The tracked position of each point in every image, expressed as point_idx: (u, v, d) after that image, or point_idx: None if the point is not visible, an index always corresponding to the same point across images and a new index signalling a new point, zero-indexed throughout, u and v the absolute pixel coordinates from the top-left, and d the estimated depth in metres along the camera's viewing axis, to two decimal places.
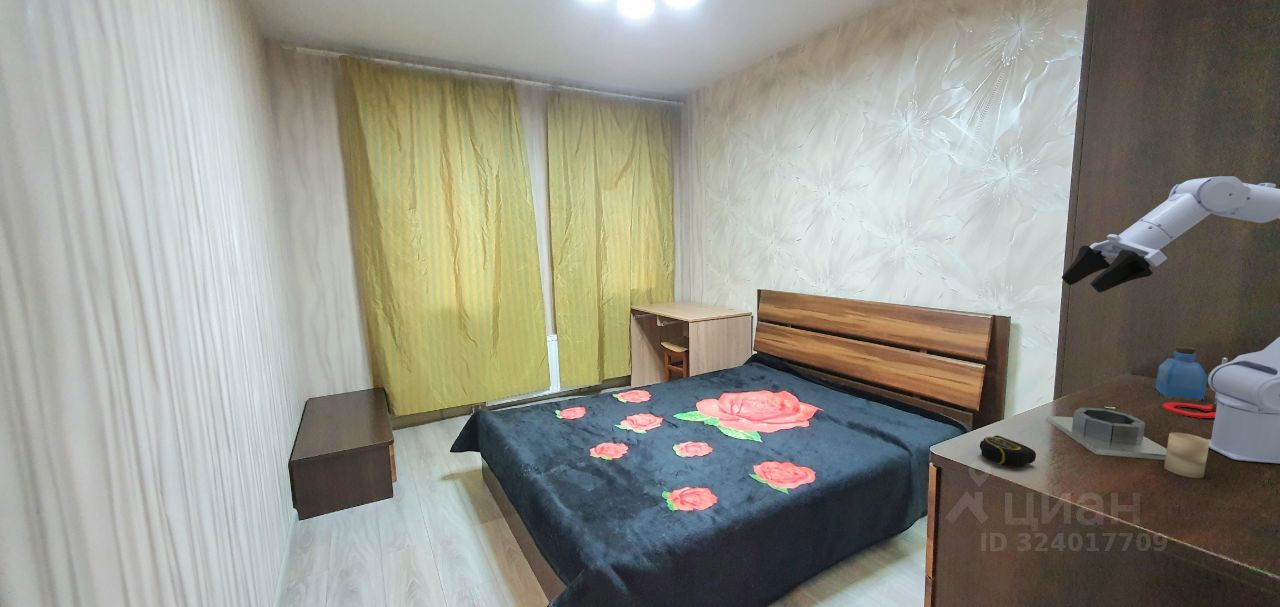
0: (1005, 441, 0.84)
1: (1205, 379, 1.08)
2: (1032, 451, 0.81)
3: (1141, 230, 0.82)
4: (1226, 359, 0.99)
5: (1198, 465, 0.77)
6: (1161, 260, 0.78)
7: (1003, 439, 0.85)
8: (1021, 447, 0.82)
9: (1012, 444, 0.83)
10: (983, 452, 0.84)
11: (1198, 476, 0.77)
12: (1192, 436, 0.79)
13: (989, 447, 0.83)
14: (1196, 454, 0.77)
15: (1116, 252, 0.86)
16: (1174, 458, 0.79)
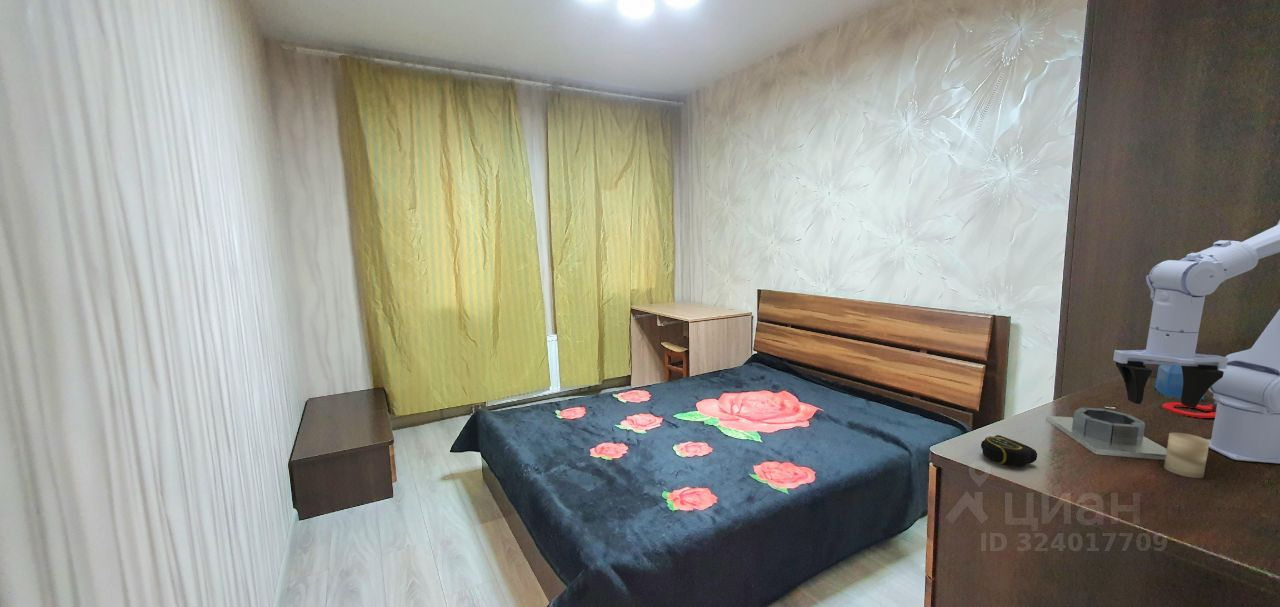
0: (1006, 441, 0.84)
1: None
2: (1033, 451, 0.81)
3: (1195, 342, 0.79)
4: None
5: (1198, 465, 0.77)
6: None
7: (1004, 439, 0.85)
8: (1022, 447, 0.82)
9: (1013, 444, 0.83)
10: (984, 452, 0.84)
11: (1198, 476, 0.77)
12: (1192, 436, 0.79)
13: (991, 446, 0.83)
14: (1196, 454, 0.77)
15: None
16: (1174, 458, 0.79)
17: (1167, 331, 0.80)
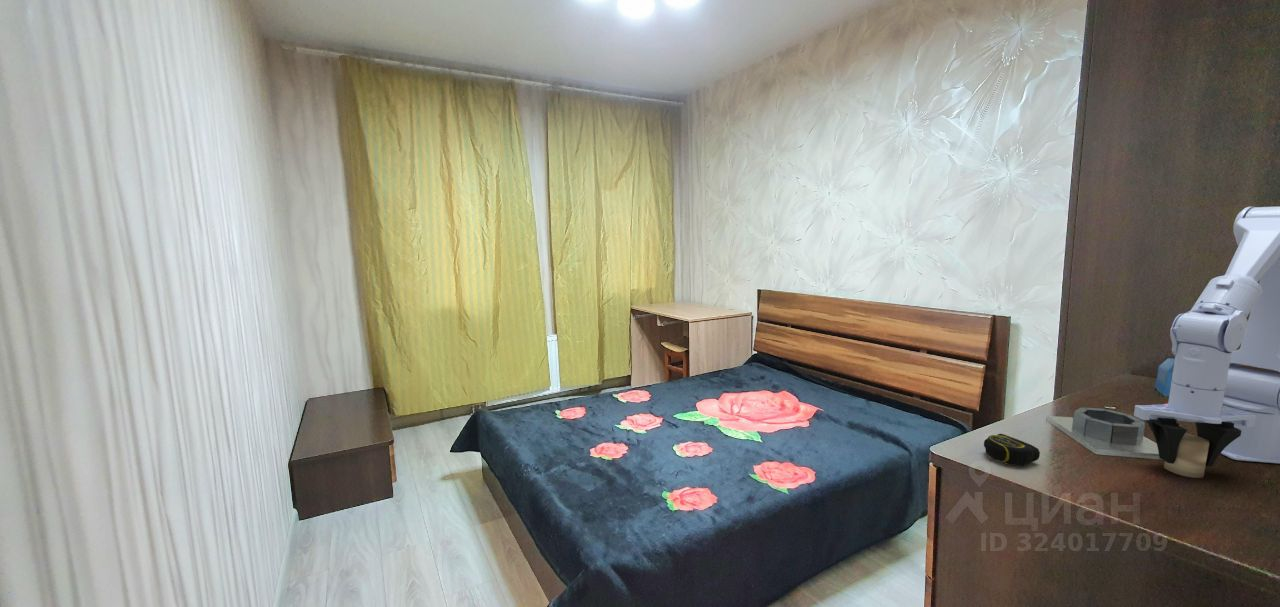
0: (1009, 439, 0.85)
1: None
2: (1036, 449, 0.82)
3: (1222, 400, 0.75)
4: None
5: (1198, 465, 0.77)
6: None
7: (1007, 437, 0.86)
8: (1025, 445, 0.82)
9: (1016, 442, 0.84)
10: (987, 450, 0.85)
11: (1198, 476, 0.77)
12: (1192, 436, 0.79)
13: (994, 445, 0.83)
14: (1196, 454, 0.77)
15: None
16: None
17: (1192, 388, 0.76)
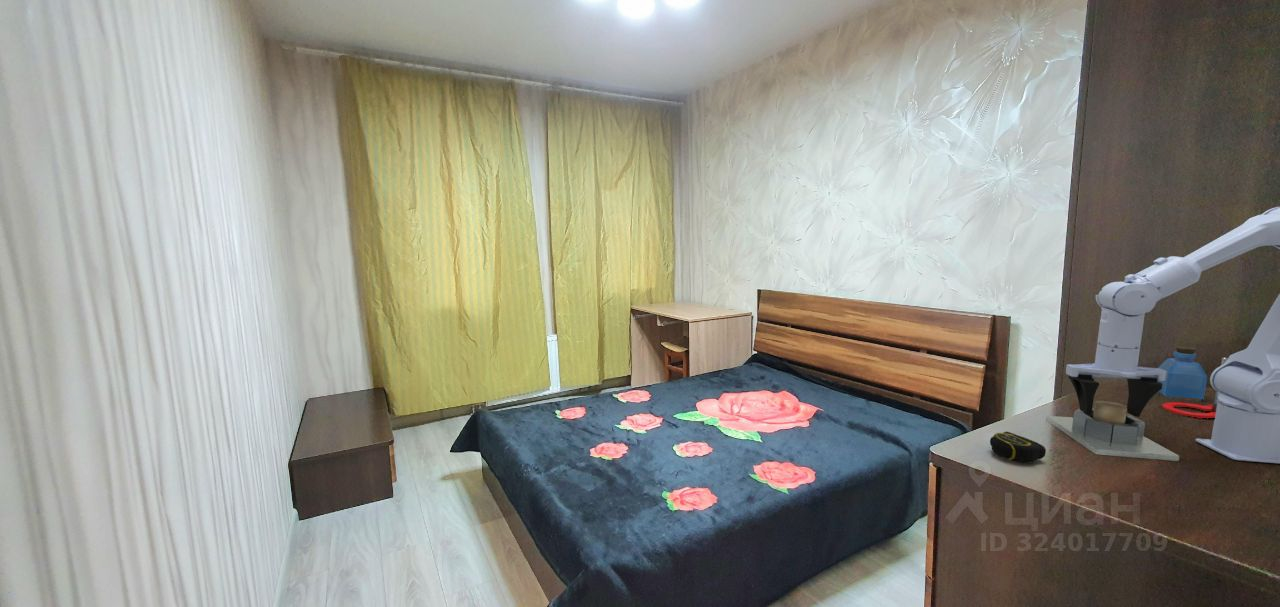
0: (1015, 437, 0.86)
1: (1205, 379, 1.08)
2: (1042, 447, 0.83)
3: (1137, 357, 0.86)
4: (1226, 359, 0.99)
5: None
6: None
7: (1013, 435, 0.86)
8: (1031, 443, 0.83)
9: (1022, 440, 0.84)
10: (993, 448, 0.85)
11: None
12: (1113, 403, 0.91)
13: (1000, 442, 0.84)
14: (1116, 418, 0.89)
15: None
16: None
17: (1112, 347, 0.87)
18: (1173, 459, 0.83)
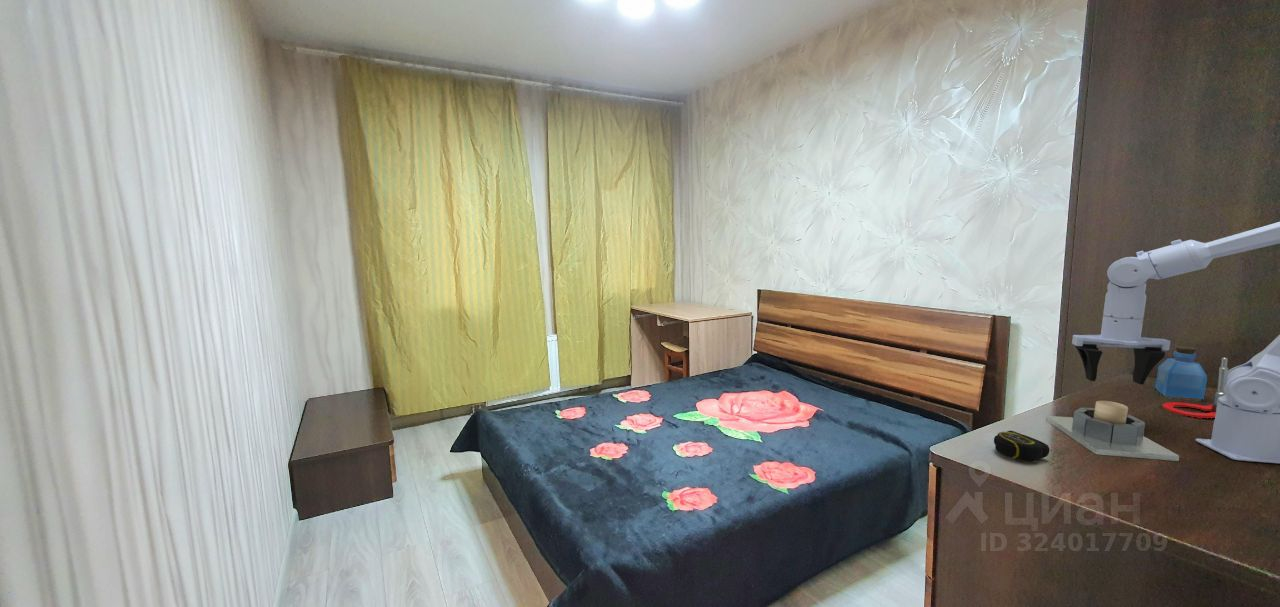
0: (1019, 436, 0.86)
1: (1205, 379, 1.08)
2: (1046, 445, 0.83)
3: (1139, 327, 0.92)
4: (1226, 359, 0.99)
5: None
6: None
7: (1017, 434, 0.87)
8: (1035, 442, 0.84)
9: (1026, 439, 0.85)
10: (997, 446, 0.86)
11: None
12: (1114, 403, 0.91)
13: (1004, 441, 0.85)
14: (1118, 419, 0.88)
15: None
16: None
17: (1115, 318, 0.93)
18: (1173, 459, 0.83)
